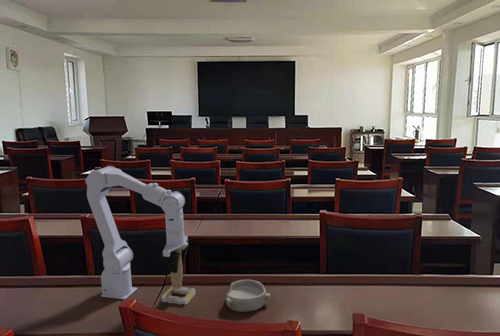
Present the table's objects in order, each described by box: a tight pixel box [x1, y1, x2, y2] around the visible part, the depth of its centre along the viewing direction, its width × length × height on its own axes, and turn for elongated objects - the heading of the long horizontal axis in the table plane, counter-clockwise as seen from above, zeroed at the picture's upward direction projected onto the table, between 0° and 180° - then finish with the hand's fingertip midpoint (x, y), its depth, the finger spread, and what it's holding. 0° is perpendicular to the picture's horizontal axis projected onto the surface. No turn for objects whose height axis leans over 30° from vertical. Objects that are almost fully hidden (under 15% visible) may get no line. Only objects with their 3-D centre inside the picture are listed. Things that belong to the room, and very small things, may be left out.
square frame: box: [161, 286, 196, 306], centre depth 138 cm, size 9×8×2 cm
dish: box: [225, 279, 271, 313], centre depth 134 cm, size 14×14×5 cm
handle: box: [170, 246, 186, 289], centre depth 136 cm, size 5×6×15 cm
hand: (177, 269), depth 136 cm, fingers closed on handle, 4 cm apart
